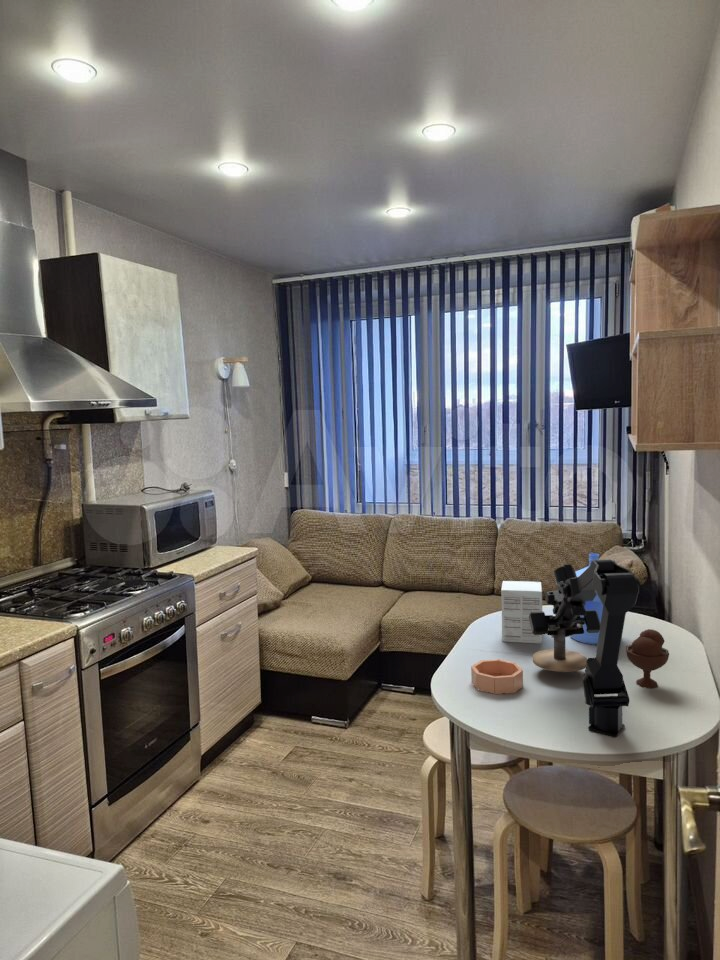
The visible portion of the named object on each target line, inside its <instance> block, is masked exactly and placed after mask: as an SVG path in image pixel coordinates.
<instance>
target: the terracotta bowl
mask: <svg viewBox="0 0 720 960" xmlns="http://www.w3.org/2000/svg"><path fill="white" fill-rule="evenodd" d="M470 667H471V669H470V670H471V671H470V672H471V673H470V675H471V683H472V685H473V684H474V685H473V686H474V688H475V687H476V688H475V690H477V689H479V690H478V691H480V690H482V691H481V692H484V691H486V692H485V693H488V692H490V693H489V694H492V693H493V694H492V695H503V694H502V693H506V694H515V693H517V692H518V691H519V690H520V689H522V688H523V687H524V670H523V669H522V668H521V667H520V666H519V664H518V663H517V662H512V661H508V660H504V659H501V658H500V659H485V660H479V661H477V662H476V663H474V664H473V665H471V666H470Z"/></svg>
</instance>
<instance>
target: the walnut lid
mask: <svg viewBox="0 0 720 960" xmlns="http://www.w3.org/2000/svg"><path fill="white" fill-rule="evenodd" d="M556 630H557V634H558V635H557V636H555V637H554V638H553V648H550V649H543V650H537V651H536V652H534V653H533V655H532V663H533V664H534V665H535V666H536V667H538V668H541V669H543V670H547V671H552V672H557V673H560V672H561V673H569V672H579V671H582V670H584V669H586V661H587V659H588V658H587V657H586V656H585V655H583V654H581V653H580V652H577V651H573V650H568V649H567V648H566V637H565V630H559V628H557V629H556Z"/></svg>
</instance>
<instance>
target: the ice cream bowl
mask: <svg viewBox="0 0 720 960" xmlns="http://www.w3.org/2000/svg"><path fill="white" fill-rule="evenodd" d="M664 643H665V639H664V637H663V635H662V634H661V632H659V631H658V630H655V629H653V628H652V629H645V630H643V631H641V632H640V634H639V636H638V637H637V638H635V639H634V640H633V642H632V643H631V644H629V645H626V646H625V653H626V657H627V659H628V661H629V662H630V663H631V664H632V665H633V666H635V667H636V668H638V669H639V670H642V671H643V672H642V673H643V677H641V678H638V679H637V680H636V681H635V684H636V685H637V686H639V687H640V686H641V687H642V688H644V687H646V689H653V688H652V687H655V688H657V687H656V686H658V682H657V681H656V680H654V679H652V678H651V673H652V671H655V670H658V669H660V668H662V667H664V665H666V664H667V662H668V660H669V657H670V652H669V650H668V649H667V648H665V647H663V645H664Z"/></svg>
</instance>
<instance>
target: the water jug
mask: <svg viewBox="0 0 720 960" xmlns="http://www.w3.org/2000/svg"><path fill="white" fill-rule="evenodd" d="M588 556H589V558H588V561H589V562H588V563H589V564H588V566H585V567H583V568H581V569H579V570H575V572H576V575H577V577H579V576H580V575H581V574H582V573H583V572H584V571H585V570H586V569H587V568H588V567H589V566H590V565H591V562H592V561H594V560H600V559H599V557H600V554H599V553H589V554H588ZM596 592H597V591H596ZM585 610H595V611H596V612H597V613H598V617H599V620H600V623H601V618H602V611H603V604H602V602H601V600H600V598H599V597H598V595H596V597H595V598H594V600H593V601H586V605H585ZM582 618H584V616H583V615H582ZM583 629H584V634H579V635H574V636H570V638H572V639H573V640H575V641H577V642H581V643H584V644H587V645H596V646H597V645H598V638H599V632H598V633H588V632H587V631H586V629H587V626H586V624H584V626H583Z"/></svg>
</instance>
